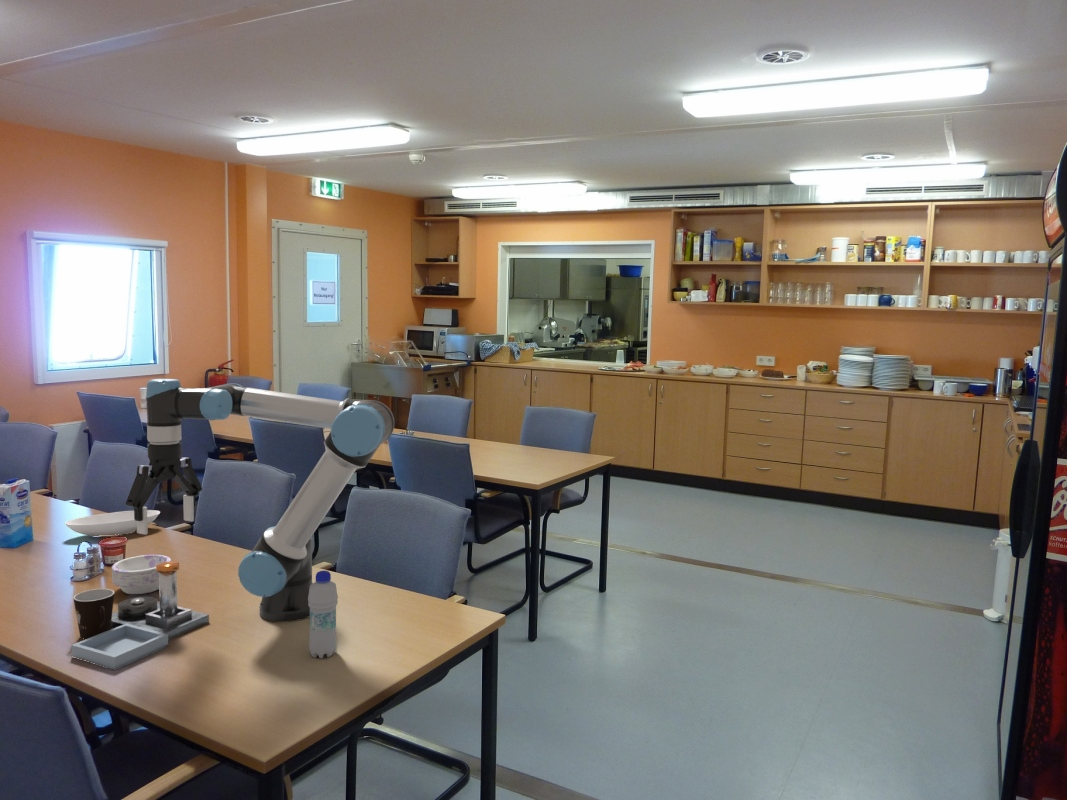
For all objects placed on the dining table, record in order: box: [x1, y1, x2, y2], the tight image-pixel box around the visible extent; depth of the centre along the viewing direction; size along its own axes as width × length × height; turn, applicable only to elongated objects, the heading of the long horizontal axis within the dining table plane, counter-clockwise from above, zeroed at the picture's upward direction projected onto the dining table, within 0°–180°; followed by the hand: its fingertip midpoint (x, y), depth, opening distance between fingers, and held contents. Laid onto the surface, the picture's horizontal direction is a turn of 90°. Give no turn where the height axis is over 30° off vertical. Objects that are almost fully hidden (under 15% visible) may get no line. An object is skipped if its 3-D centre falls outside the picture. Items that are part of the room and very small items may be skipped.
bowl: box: [64, 509, 161, 537], centre depth 270 cm, size 30×15×6 cm, turn 129°
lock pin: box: [156, 560, 180, 618], centre depth 190 cm, size 5×5×14 cm
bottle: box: [308, 570, 339, 659], centre depth 177 cm, size 7×7×20 cm
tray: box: [70, 623, 169, 671], centre depth 176 cm, size 14×14×3 cm
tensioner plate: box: [111, 596, 210, 641], centre depth 192 cm, size 22×14×5 cm, turn 66°
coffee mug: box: [72, 588, 115, 640], centre depth 183 cm, size 12×9×10 cm
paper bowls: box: [111, 554, 172, 595], centre depth 216 cm, size 15×15×8 cm
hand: (166, 526), depth 188 cm, fingers open, 13 cm apart
